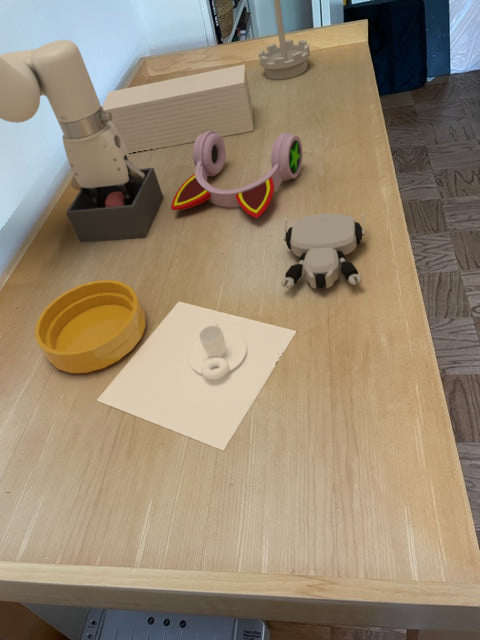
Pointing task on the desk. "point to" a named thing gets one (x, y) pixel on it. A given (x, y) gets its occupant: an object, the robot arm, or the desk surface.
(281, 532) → the desk surface
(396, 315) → the desk surface
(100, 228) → the bin
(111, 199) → the toy ball
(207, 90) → the stack of papers
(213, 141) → the headphones
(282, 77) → the flag stand
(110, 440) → the desk surface
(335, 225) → the robot toy
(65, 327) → the bowl
